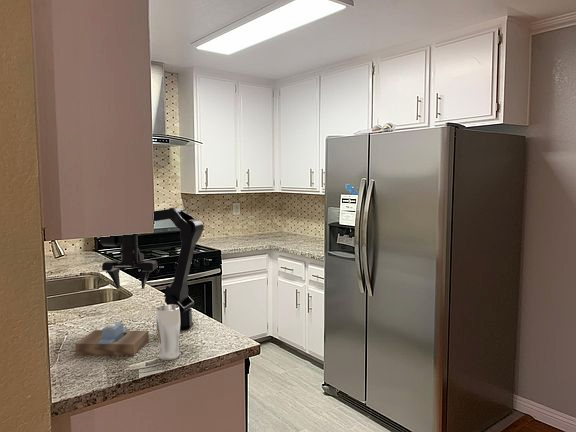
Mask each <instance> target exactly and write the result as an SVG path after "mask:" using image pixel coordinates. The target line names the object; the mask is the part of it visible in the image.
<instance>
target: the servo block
mask: <svg viewBox="0 0 576 432" xmlns="http://www.w3.org/2000/svg"><path fill="white" fill-rule="evenodd" d="M101 330H102V337H103V338H102V339H101V340H100V341H98V344H111V343H113V342H117V341H118V340H120V339H121V338H122V337H123V336H124V333H125V332H126V331H129V329H128V328H124V322H110V323H108V324H106V326H104V327H103V328H102V329H101Z"/></svg>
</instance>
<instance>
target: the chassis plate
mask: <svg viewBox="0 0 576 432" xmlns="http://www.w3.org/2000/svg"><path fill="white" fill-rule="evenodd" d="M102 338H103V337H102V329H95V330H93V331H92V332H90V333H88V334H87V335H86V336H84V337H83V338H81V339H79V341H77V342H76V343H74V345H75V346H74V348H75V355H76V356H114V355H120V356H122V357H123V356H124V355H128V356H127V357H129V356H131V357H134V356H135V355H136V354H138V352H139V351H140V350H141V349H142V348H144V347H145V345H147V343H148V342H149V340H150V339H149V338H150V337H149V330H128V331H126V332H125V333H124V336H123V337H122V338H121V339H120V340H118V341H117V342H113V343H111V344H98V341H100V340H101V339H102Z"/></svg>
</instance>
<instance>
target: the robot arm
mask: <svg viewBox="0 0 576 432" xmlns="http://www.w3.org/2000/svg"><path fill="white" fill-rule="evenodd" d="M153 211H154V221H153V222H158V221H159V222H160V221H165V220H170V221H171V222H173V224H174V226H175V227H176V228H177V229H179V230H180V233H179V238H180V241H181V246H180V251H179V255H178V260H177V264H176V268H175V272H174V279H173V280H172V283H169V284H167V285H166V287H165V293H164V294H163V298H164V303H165V305H168V304H174V305H178V306H179V310H180V331H181V330H182V331H183V330H185V331H188V330H190V329H191V328H192V326H193V325H194V322H193V312H192V311H193V310H192V308H193V307H194V305H195V301H194V300H193V299H192V298H191V297H190V296H189V287H188V279H189V275H190V269H191V266H192V261H193V256H194V252H195V249H196V247H195V246H196V245H197V243H198V241H199V240H200V238H201V237H202V234H203V231H204V229H205V226H204V223H203V222H202V220H200V219H199V218H195V217H193V215H191V214H189V213H187V212H185V211H183V210H182V209H181V208H179V207H177V206H176V207H175V206H174V207H169V208H166V209H160V210H159V209H158V210H153ZM138 235H140V234H133V235H123V236H110V237H99V242H100V244H101V245H102V246H103V247H119V246H120V250H119V254H121V255H120V256H121V261H119V260H117V259H116V260H106V261H104V262H103V263H102V264H101V270H102V272H103V271H104V272H105V273H106V274H108V275H109V277H110V278H111V280H112V281H113V283H114V286H115V287H116V289H118V290H119V289H120V286H121V283H120V282H121V281H120V271H121V269H141V270H142V271H140V279H141V289H142V290H143V289H145V287H146V283H147V282H148V281H147V280H148V278H149V276H150V274H151V273H152V272H153V271H155V270H156V269H157V268H158V261H157V260H144V259H145V254H144V253H142V252H140V248H139V246H138Z"/></svg>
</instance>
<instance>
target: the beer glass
mask: <svg viewBox="0 0 576 432" xmlns="http://www.w3.org/2000/svg"><path fill="white" fill-rule="evenodd" d="M155 314H156V315H155V325H156V332H157V336H158V341H159V354H158V358H159V360H161V361H173V360H176V359H178V358H180V356H181V353H180V348H179V341H180V340H179V338H180V333H181V332H180V331H181V330H180V310H179V306H178V305H174V304H168V305H167V304H162V305H159V306H157V307H156V313H155Z"/></svg>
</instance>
